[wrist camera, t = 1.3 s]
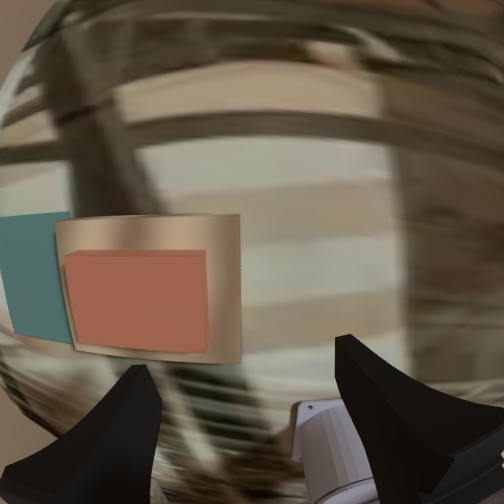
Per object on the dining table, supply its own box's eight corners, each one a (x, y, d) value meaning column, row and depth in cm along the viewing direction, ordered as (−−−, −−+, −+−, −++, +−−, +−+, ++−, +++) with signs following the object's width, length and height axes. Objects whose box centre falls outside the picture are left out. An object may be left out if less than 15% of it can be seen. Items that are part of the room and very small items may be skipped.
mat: (68, 211, 20) (66, 212, 20) (87, 344, 23) (86, 345, 22) (-4, 217, 20) (-6, 218, 20) (16, 331, 23) (14, 333, 22)
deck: (240, 213, 20) (238, 216, 18) (241, 349, 22) (241, 364, 21) (69, 218, 20) (54, 221, 19) (86, 339, 23) (75, 350, 21)
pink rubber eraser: (206, 249, 19) (200, 256, 17) (210, 338, 20) (206, 353, 18) (79, 249, 19) (63, 256, 17) (91, 329, 20) (79, 341, 18)
